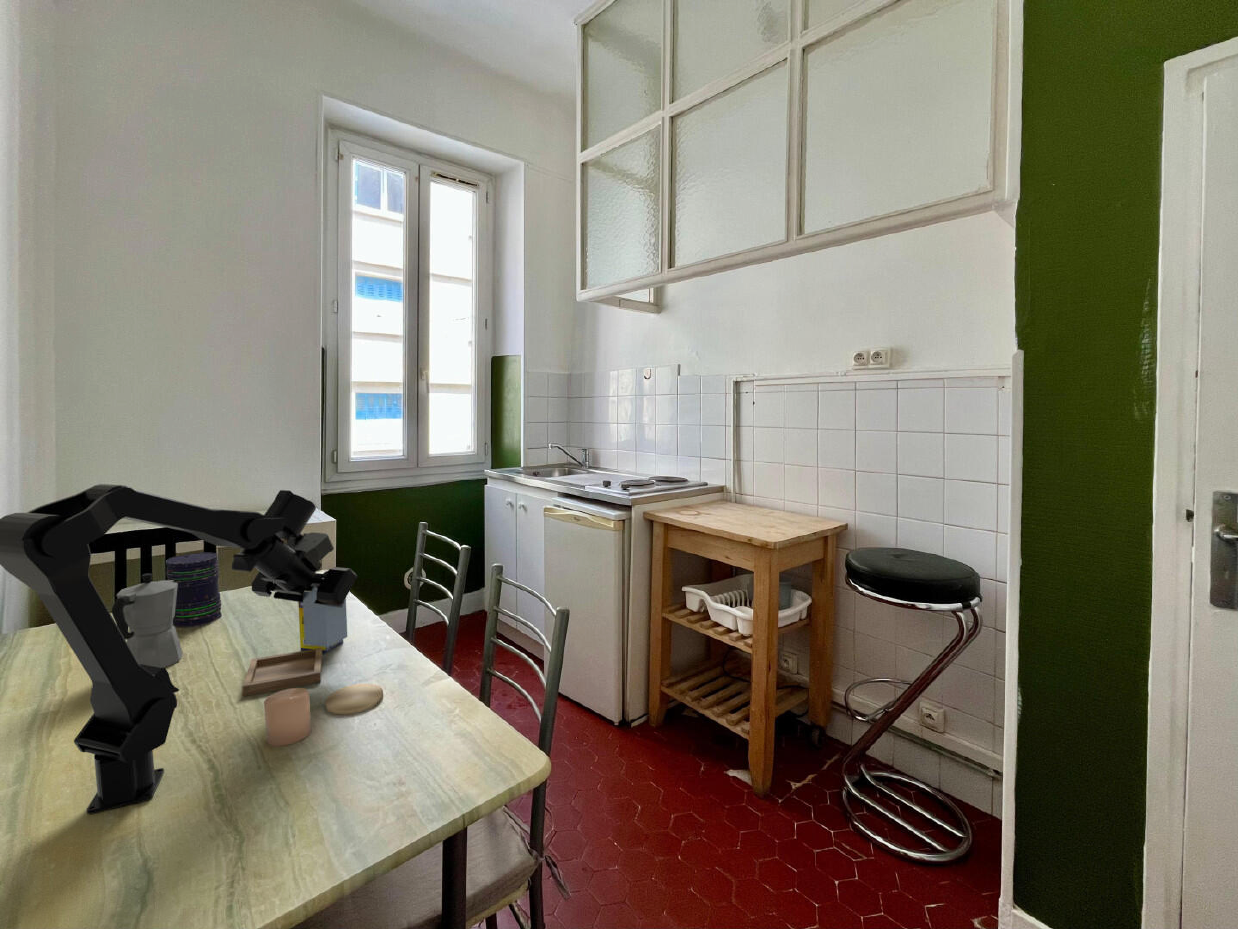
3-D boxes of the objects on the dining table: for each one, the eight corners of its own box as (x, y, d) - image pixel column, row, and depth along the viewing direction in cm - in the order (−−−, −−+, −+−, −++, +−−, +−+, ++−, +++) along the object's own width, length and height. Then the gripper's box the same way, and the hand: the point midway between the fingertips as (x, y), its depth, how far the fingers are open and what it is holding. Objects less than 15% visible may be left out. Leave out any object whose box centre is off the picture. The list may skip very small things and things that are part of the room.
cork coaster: (385, 707, 97) (384, 702, 97) (325, 719, 93) (325, 714, 93) (381, 683, 105) (381, 679, 105) (326, 694, 101) (325, 690, 101)
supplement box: (325, 654, 118) (322, 602, 116) (299, 651, 119) (296, 600, 118) (344, 642, 123) (342, 593, 122) (320, 640, 125) (317, 591, 123)
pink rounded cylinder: (312, 738, 88) (310, 701, 87) (266, 750, 85) (263, 712, 84) (310, 719, 93) (307, 684, 93) (266, 731, 90) (263, 694, 89)
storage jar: (230, 617, 138) (226, 556, 136) (181, 631, 129) (176, 565, 128) (210, 609, 143) (206, 550, 141) (163, 622, 135) (157, 559, 133)
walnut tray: (320, 682, 106) (320, 672, 106) (243, 696, 101) (242, 686, 100) (322, 656, 117) (321, 647, 116) (252, 668, 111) (251, 659, 111)
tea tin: (327, 647, 105) (324, 579, 103) (304, 644, 106) (300, 577, 105) (348, 636, 110) (345, 572, 108) (326, 633, 111) (323, 569, 110)
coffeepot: (152, 649, 120) (145, 564, 118) (200, 647, 120) (194, 563, 119) (92, 685, 104) (83, 588, 102) (148, 683, 105) (140, 587, 103)
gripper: (346, 524, 99) (391, 570, 111) (262, 518, 104) (313, 562, 116) (312, 582, 92) (364, 624, 104) (223, 572, 98) (282, 613, 109)
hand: (330, 603), depth 108 cm, fingers closed on tea tin, 5 cm apart
